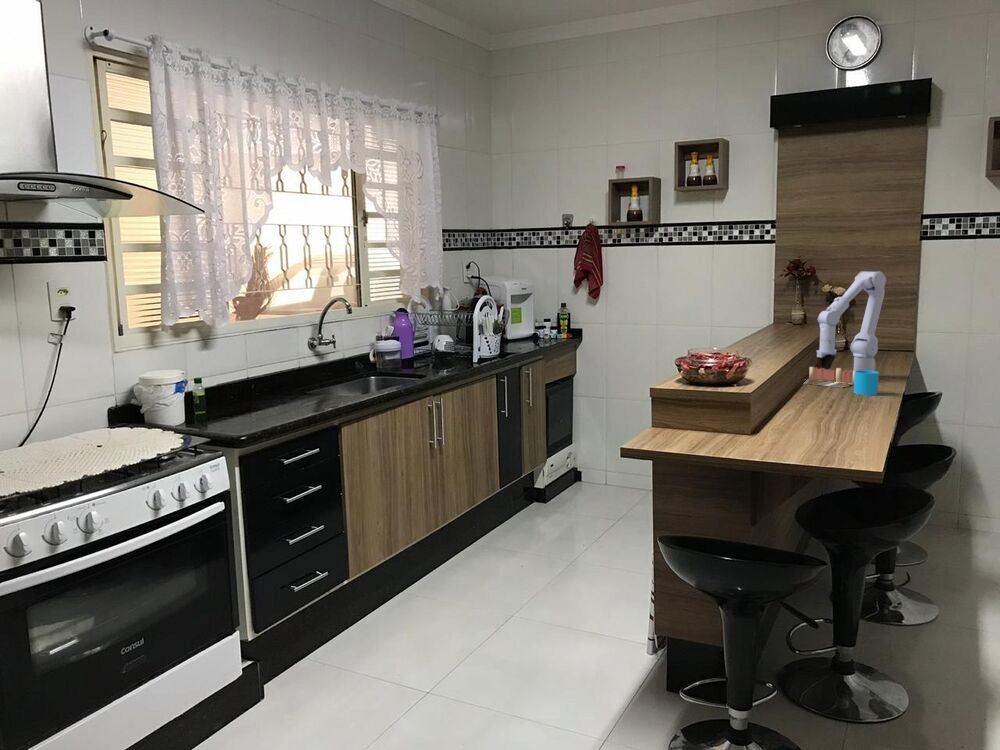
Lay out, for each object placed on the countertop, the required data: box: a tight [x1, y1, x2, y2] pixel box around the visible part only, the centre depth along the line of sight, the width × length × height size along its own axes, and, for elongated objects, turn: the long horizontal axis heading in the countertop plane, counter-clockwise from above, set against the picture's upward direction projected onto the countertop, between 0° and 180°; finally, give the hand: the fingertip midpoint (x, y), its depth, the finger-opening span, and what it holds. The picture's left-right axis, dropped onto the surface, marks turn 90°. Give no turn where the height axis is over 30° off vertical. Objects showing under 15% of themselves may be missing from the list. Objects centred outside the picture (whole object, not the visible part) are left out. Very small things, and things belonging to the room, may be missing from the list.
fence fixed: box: [835, 367, 855, 384], centre depth 324 cm, size 8×2×6 cm, turn 46°
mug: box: [853, 370, 880, 396], centre depth 303 cm, size 12×8×8 cm
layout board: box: [802, 378, 852, 389], centre depth 329 cm, size 23×20×1 cm
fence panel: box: [808, 366, 836, 381], centre depth 331 cm, size 10×2×5 cm, turn 46°
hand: (825, 373), depth 334 cm, fingers closed
